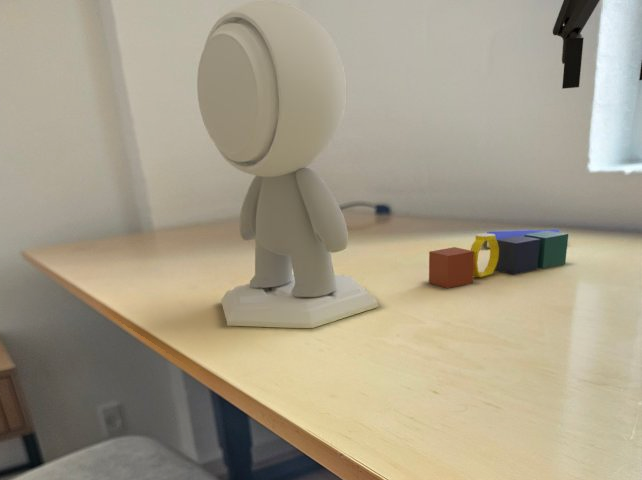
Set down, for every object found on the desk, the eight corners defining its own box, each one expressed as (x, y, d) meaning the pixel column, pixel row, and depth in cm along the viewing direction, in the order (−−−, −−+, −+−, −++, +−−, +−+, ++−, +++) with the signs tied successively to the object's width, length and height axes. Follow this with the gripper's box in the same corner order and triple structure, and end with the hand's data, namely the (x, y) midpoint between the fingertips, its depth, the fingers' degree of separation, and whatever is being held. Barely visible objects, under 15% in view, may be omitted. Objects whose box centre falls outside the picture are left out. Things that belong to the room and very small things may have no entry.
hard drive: (487, 239, 115) (562, 236, 112) (487, 230, 122) (557, 228, 119) (487, 248, 116) (561, 246, 113) (486, 239, 123) (556, 237, 120)
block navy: (516, 265, 102) (519, 235, 100) (537, 269, 99) (540, 239, 97) (493, 269, 101) (495, 239, 99) (513, 274, 97) (516, 243, 95)
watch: (479, 281, 95) (481, 238, 92) (463, 279, 97) (464, 237, 94) (502, 273, 99) (504, 231, 96) (486, 271, 100) (488, 230, 98)
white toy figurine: (187, 313, 91) (139, 14, 75) (312, 279, 104) (294, 17, 88) (274, 340, 77) (238, -20, 61) (407, 297, 90) (405, -11, 74)
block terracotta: (453, 277, 98) (454, 246, 96) (472, 283, 94) (474, 251, 92) (428, 282, 97) (429, 251, 94) (447, 288, 93) (447, 256, 91)
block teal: (544, 259, 104) (546, 230, 102) (565, 264, 101) (568, 233, 98) (521, 264, 103) (524, 234, 101) (542, 268, 99) (545, 238, 97)
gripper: (534, -76, 94) (525, 92, 103) (697, -140, 74) (667, 77, 83) (573, -74, 97) (560, 89, 106) (740, -136, 76) (706, 73, 86)
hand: (607, 84), depth 95 cm, fingers open, 13 cm apart
